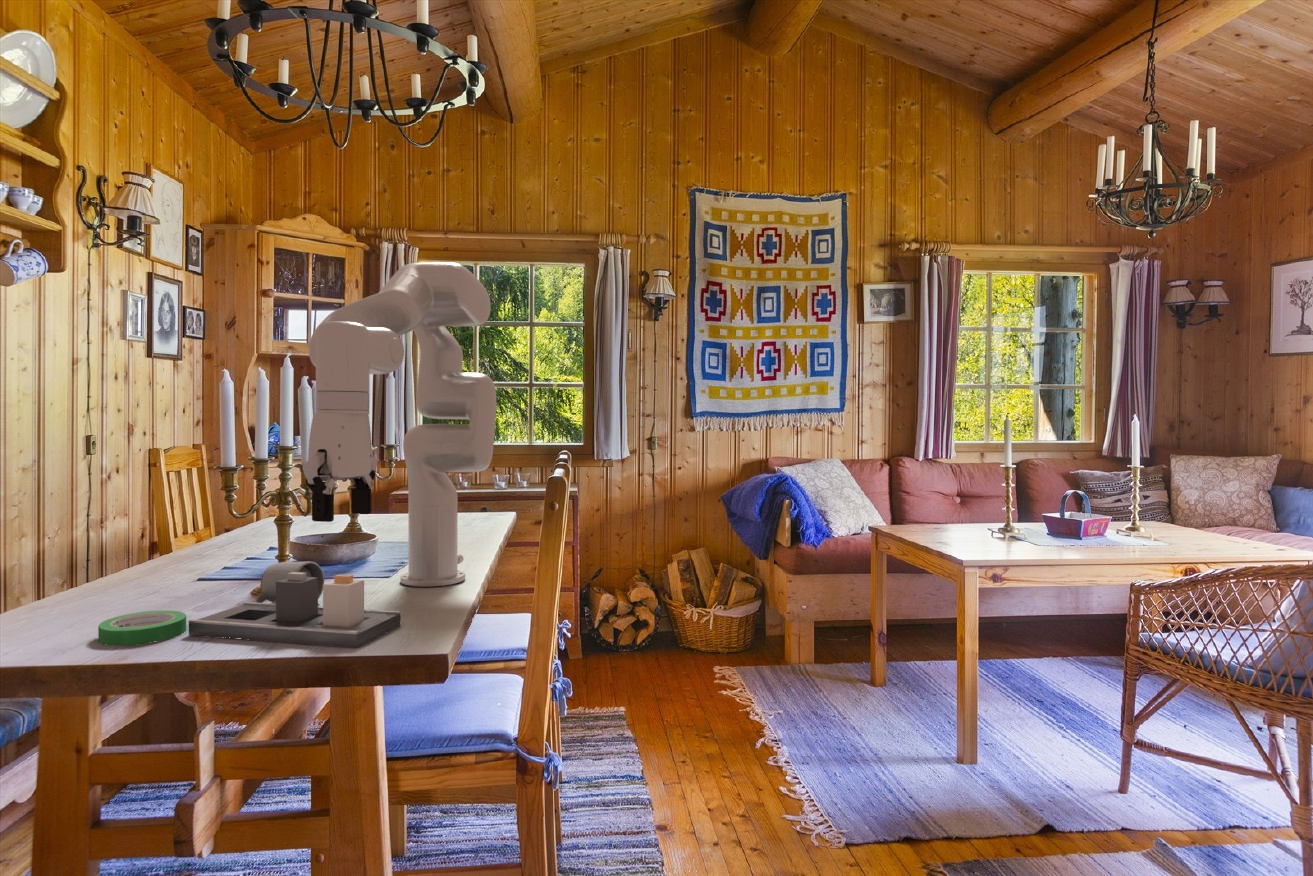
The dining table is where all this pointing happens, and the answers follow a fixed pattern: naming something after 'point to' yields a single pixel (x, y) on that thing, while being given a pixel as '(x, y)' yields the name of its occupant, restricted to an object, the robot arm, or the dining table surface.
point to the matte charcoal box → (297, 598)
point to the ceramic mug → (281, 572)
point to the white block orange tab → (343, 601)
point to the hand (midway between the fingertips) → (342, 517)
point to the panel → (292, 627)
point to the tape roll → (142, 627)
